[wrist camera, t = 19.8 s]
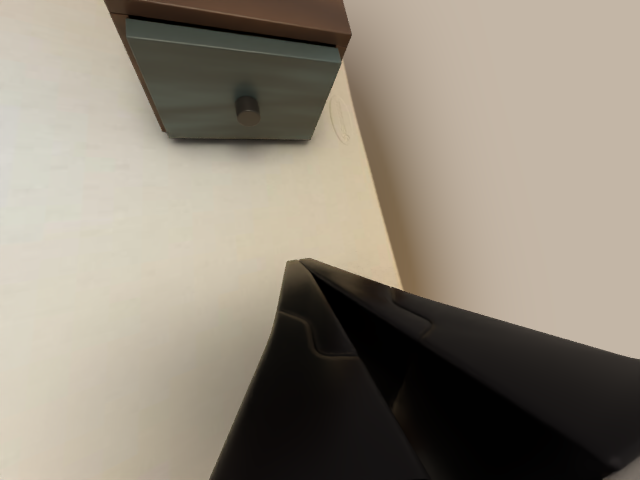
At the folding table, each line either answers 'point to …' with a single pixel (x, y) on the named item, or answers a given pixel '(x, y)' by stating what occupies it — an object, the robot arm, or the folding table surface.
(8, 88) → the folding table surface
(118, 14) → the cabinet
